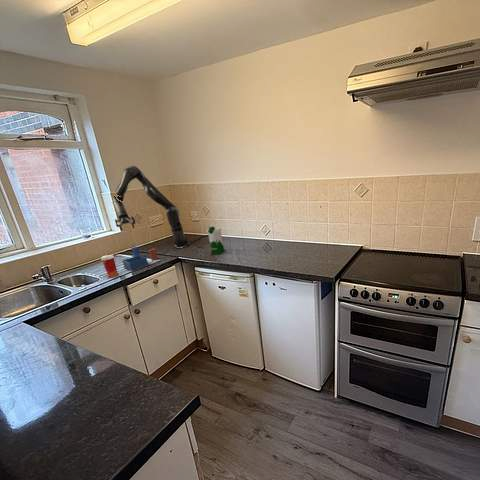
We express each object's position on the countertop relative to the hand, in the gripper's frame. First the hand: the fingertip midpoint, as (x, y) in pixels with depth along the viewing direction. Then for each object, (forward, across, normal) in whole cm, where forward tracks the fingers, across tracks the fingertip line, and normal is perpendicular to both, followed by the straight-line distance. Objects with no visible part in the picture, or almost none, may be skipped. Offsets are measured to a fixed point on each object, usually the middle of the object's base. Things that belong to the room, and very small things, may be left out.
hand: (127, 228), depth 239 cm
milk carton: (+56, +52, -26) cm, 80 cm away
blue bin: (+42, -4, -12) cm, 44 cm away
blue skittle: (+24, 0, +7) cm, 24 cm away
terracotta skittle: (+38, +10, -7) cm, 40 cm away
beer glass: (+49, -20, -18) cm, 56 cm away
